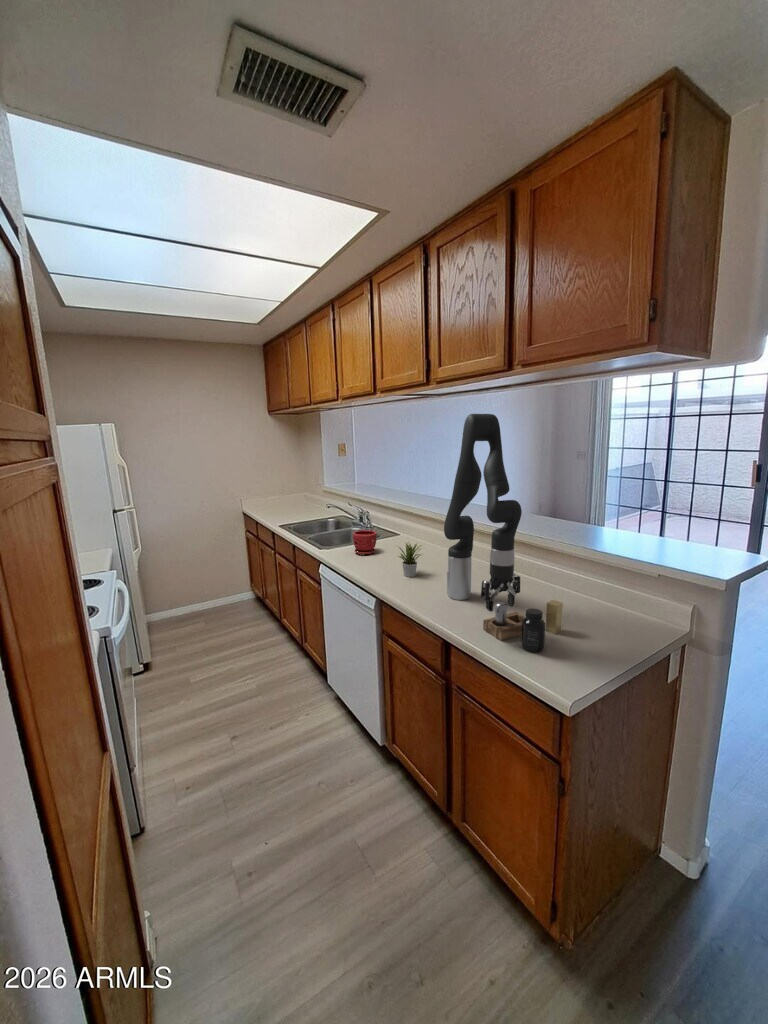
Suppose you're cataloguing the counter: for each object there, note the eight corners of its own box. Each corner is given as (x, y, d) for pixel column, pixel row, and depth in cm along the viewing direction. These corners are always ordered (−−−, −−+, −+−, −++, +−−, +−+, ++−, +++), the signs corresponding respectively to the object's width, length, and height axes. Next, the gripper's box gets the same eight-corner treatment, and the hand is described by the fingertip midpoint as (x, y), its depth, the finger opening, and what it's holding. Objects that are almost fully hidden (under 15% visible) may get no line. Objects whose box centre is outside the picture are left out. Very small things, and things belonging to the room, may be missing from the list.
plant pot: (377, 556, 233) (376, 534, 231) (353, 556, 233) (352, 535, 231) (377, 549, 246) (376, 529, 244) (354, 550, 246) (353, 529, 243)
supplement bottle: (549, 648, 131) (551, 612, 129) (535, 655, 128) (537, 618, 125) (530, 640, 137) (531, 605, 135) (516, 646, 133) (517, 610, 131)
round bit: (492, 631, 143) (493, 603, 141) (501, 628, 145) (501, 601, 143) (499, 635, 140) (500, 607, 138) (508, 633, 141) (509, 604, 140)
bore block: (482, 629, 145) (482, 620, 144) (515, 621, 151) (515, 611, 150) (500, 641, 137) (500, 631, 136) (534, 631, 143) (534, 621, 142)
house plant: (433, 576, 199) (433, 542, 196) (411, 583, 190) (410, 547, 187) (413, 568, 210) (413, 536, 207) (391, 575, 202) (390, 541, 199)
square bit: (545, 630, 143) (546, 602, 141) (551, 627, 145) (552, 599, 143) (555, 634, 140) (557, 605, 138) (561, 630, 143) (562, 602, 141)
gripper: (511, 555, 144) (509, 600, 147) (476, 561, 138) (475, 608, 141) (527, 561, 137) (525, 608, 141) (491, 568, 131) (490, 617, 135)
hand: (500, 608), depth 141 cm, fingers open, 8 cm apart
